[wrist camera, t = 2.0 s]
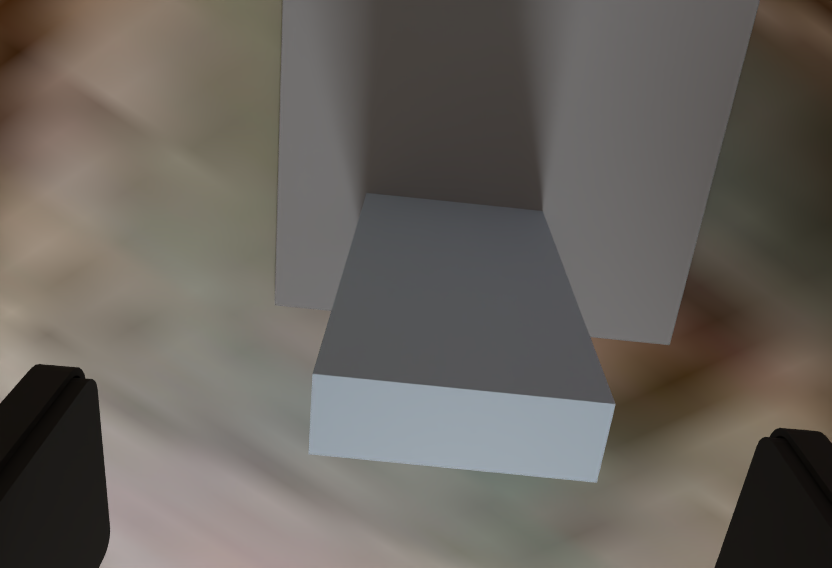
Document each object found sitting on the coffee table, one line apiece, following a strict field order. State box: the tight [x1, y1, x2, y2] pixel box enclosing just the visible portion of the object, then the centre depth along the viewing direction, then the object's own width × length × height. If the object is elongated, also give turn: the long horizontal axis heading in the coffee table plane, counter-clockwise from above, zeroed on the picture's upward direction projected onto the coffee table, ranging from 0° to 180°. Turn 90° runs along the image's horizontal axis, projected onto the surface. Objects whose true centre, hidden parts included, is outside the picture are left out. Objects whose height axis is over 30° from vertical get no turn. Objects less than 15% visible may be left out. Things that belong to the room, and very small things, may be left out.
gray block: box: [309, 193, 615, 482], centre depth 18 cm, size 5×2×10 cm, turn 84°
